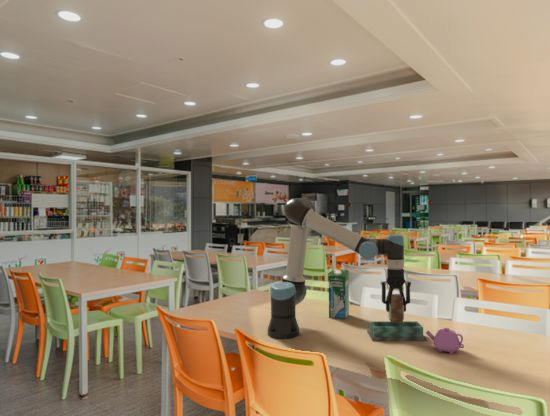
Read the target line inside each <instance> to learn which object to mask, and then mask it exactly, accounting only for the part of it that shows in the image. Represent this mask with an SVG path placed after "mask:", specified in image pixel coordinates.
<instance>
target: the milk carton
mask: <svg viewBox="0 0 550 416" xmlns="http://www.w3.org/2000/svg"><path fill="white" fill-rule="evenodd" d="M349 272H350V271H349V269H340V268H339V269H338V268H336V269H335V268H334V269H333V268H332V269H331V271H330V273H329V274H328V318H331V319H341V320H346V319H347V318H348V317H349V314H350V309H349V308H350V303H349V302H350V297H349V296H350V294H349V293H350V290H349V289H350V287H349V286H350V285H349V284H350V283H349V279H350V278H349V275H350V274H349Z"/></svg>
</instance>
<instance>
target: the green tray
mask: <svg viewBox="0 0 550 416" xmlns="http://www.w3.org/2000/svg"><path fill="white" fill-rule="evenodd" d="M366 332H367V335H368V336H369V337H370V339H371V341H372V342H427V339H428V338H427V337H426V336H425V335H424V327H423V325H421V323H419V322H418V321H414V320H413V321H410V320H406V321H404V320H403V323H392V322H391V321H390V320H389V321H388V320H387V321H383V320H382V321H379V320H378V321H375V320H374V321H369V329H367V331H366Z"/></svg>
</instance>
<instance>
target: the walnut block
mask: <svg viewBox="0 0 550 416" xmlns="http://www.w3.org/2000/svg"><path fill="white" fill-rule="evenodd" d="M390 305H391V319H389V318H388V319H389V321H391V322H392V323H403V321H404V319H403V296H401V295H400V293H392V296H391V300H390Z"/></svg>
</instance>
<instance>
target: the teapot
mask: <svg viewBox="0 0 550 416" xmlns="http://www.w3.org/2000/svg"><path fill="white" fill-rule="evenodd" d="M425 334H426V335H427V336H428V337H429V339H431V340H432V342H433V346H434V347H435V349H436V350H437V352H438V351H439V352H438V353H443V352H447V353H448V354H450V353H451V355H454V354H455V352H458V350H459V349H464V347H465V344H463V341H464V337H463V335H462V334H461V333H457V332H456V331H455V330H452V329H450V328H449V327H443V328H440V329H439V330H438V331H437V332H436V333H435V336H434V335H433V334H432V332H431V331H429V330H427V331H426V332H425ZM458 336H459V337H460V339H459V337H458ZM453 353H454V354H453Z"/></svg>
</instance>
